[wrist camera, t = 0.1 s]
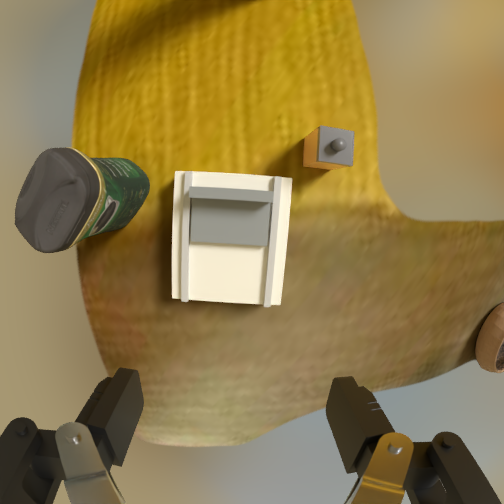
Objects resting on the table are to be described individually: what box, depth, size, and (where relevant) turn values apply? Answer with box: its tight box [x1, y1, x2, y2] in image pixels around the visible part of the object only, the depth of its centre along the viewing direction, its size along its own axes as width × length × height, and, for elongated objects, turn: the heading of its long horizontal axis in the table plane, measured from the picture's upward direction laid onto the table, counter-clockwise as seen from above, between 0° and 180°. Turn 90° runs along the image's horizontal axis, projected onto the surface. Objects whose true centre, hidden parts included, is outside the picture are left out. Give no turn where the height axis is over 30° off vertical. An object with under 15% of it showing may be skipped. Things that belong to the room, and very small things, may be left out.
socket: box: [172, 171, 292, 307], centre depth 36 cm, size 16×14×5 cm
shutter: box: [189, 186, 274, 246], centre depth 32 cm, size 6×9×3 cm
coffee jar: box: [15, 148, 150, 253], centre depth 27 cm, size 10×8×19 cm
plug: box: [303, 126, 354, 170], centre depth 32 cm, size 4×4×9 cm
